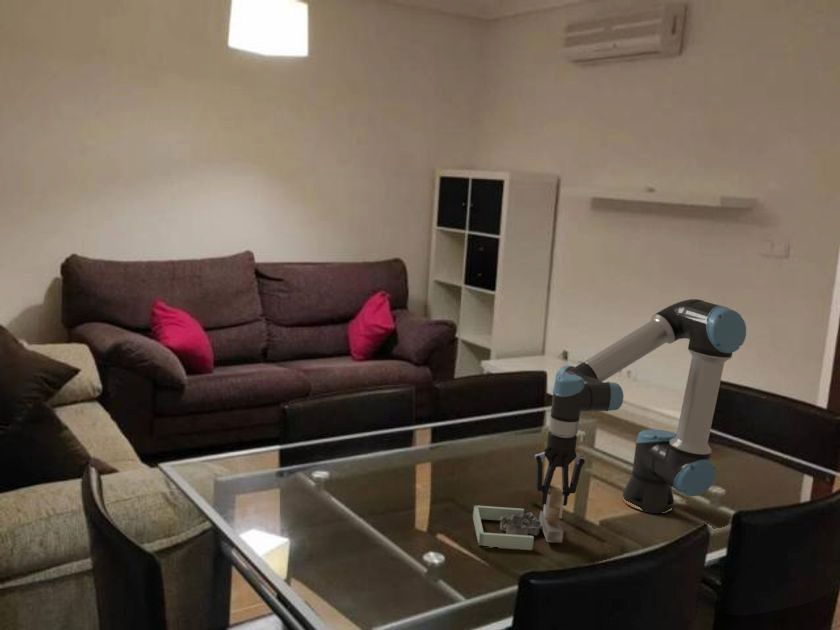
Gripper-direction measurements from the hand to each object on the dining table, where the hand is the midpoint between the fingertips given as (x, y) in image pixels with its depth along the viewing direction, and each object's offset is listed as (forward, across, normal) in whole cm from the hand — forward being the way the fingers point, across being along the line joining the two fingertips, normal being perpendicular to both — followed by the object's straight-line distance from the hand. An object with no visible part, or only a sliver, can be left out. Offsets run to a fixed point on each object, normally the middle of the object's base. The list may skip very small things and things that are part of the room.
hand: (552, 515), depth 210 cm
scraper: (+5, 0, 0) cm, 5 cm away
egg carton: (+6, +8, -2) cm, 10 cm away
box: (+6, +13, 0) cm, 14 cm away
